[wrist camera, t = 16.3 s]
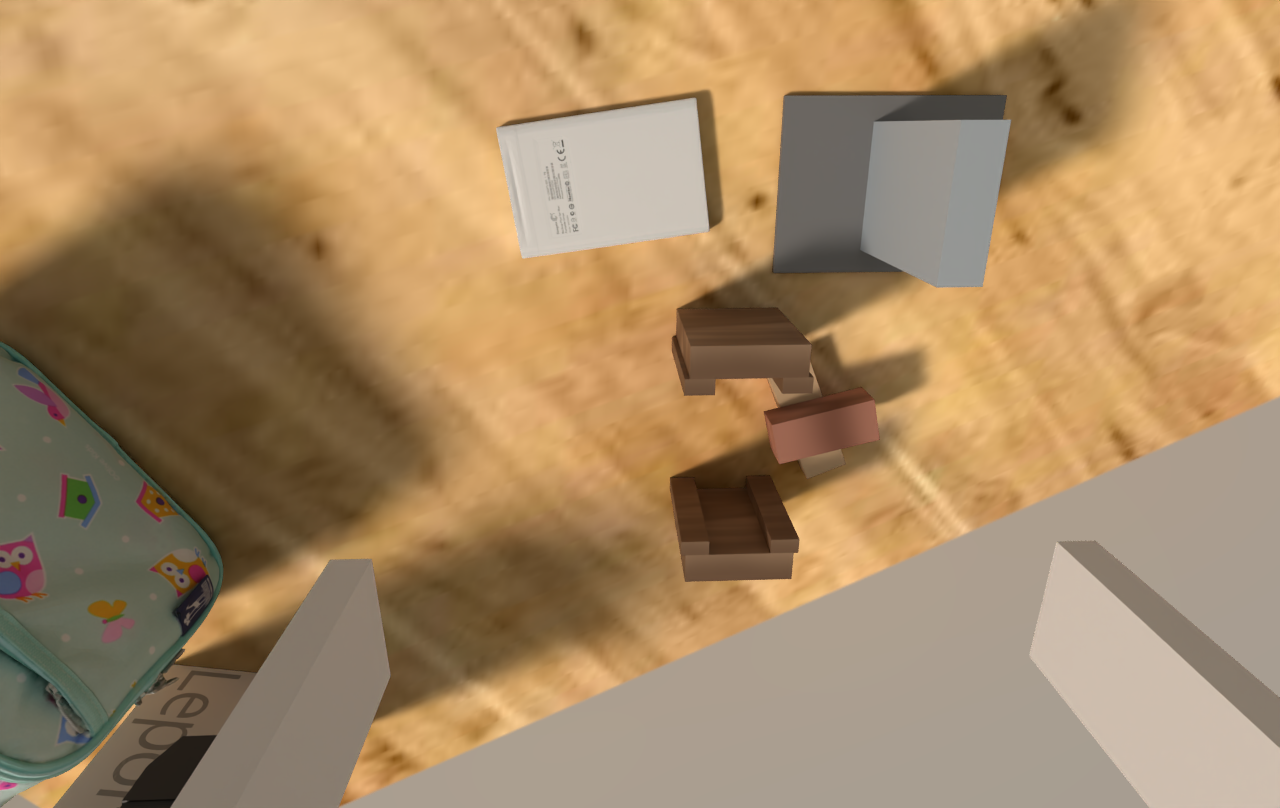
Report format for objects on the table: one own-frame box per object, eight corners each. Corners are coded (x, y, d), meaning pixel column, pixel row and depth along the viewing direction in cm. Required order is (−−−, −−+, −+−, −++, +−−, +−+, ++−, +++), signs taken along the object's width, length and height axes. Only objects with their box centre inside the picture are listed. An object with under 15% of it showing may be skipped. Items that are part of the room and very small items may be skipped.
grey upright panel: (873, 121, 45) (961, 120, 34) (911, 121, 45) (1011, 119, 34) (860, 250, 48) (936, 287, 37) (895, 249, 48) (982, 286, 37)
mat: (783, 95, 45) (785, 95, 44) (1003, 95, 45) (1006, 95, 45) (772, 271, 49) (773, 272, 48) (974, 269, 49) (977, 270, 49)
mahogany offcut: (771, 448, 51) (779, 464, 49) (763, 411, 50) (771, 425, 48) (866, 425, 51) (879, 439, 49) (861, 387, 50) (874, 399, 47)
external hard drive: (707, 229, 48) (524, 255, 48) (693, 97, 45) (499, 126, 45) (710, 232, 46) (521, 260, 47) (696, 96, 43) (495, 126, 44)
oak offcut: (759, 361, 51) (767, 372, 49) (799, 345, 51) (808, 355, 49) (798, 464, 55) (807, 479, 52) (835, 449, 54) (845, 464, 52)
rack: (672, 309, 49) (685, 346, 41) (781, 307, 49) (816, 344, 41) (669, 512, 55) (680, 581, 47) (767, 510, 55) (795, 578, 47)
